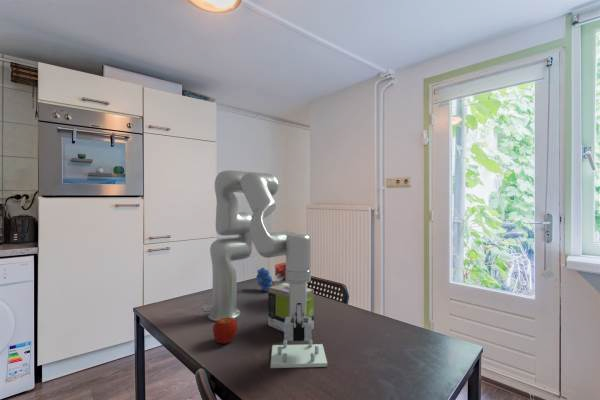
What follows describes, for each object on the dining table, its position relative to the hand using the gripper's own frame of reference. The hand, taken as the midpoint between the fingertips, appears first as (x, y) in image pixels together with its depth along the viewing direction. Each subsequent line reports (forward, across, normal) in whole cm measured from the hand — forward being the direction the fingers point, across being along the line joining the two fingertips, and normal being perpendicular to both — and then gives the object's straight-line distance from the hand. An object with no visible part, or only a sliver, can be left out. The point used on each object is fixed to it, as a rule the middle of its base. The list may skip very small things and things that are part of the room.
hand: (298, 335), depth 87 cm
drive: (+1, 0, 0) cm, 1 cm away
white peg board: (+7, 0, 0) cm, 7 cm away
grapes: (+7, -66, -16) cm, 68 cm away
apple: (+7, -11, -24) cm, 27 cm away
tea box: (+7, -21, -2) cm, 22 cm away
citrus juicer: (+7, -48, -2) cm, 48 cm away
